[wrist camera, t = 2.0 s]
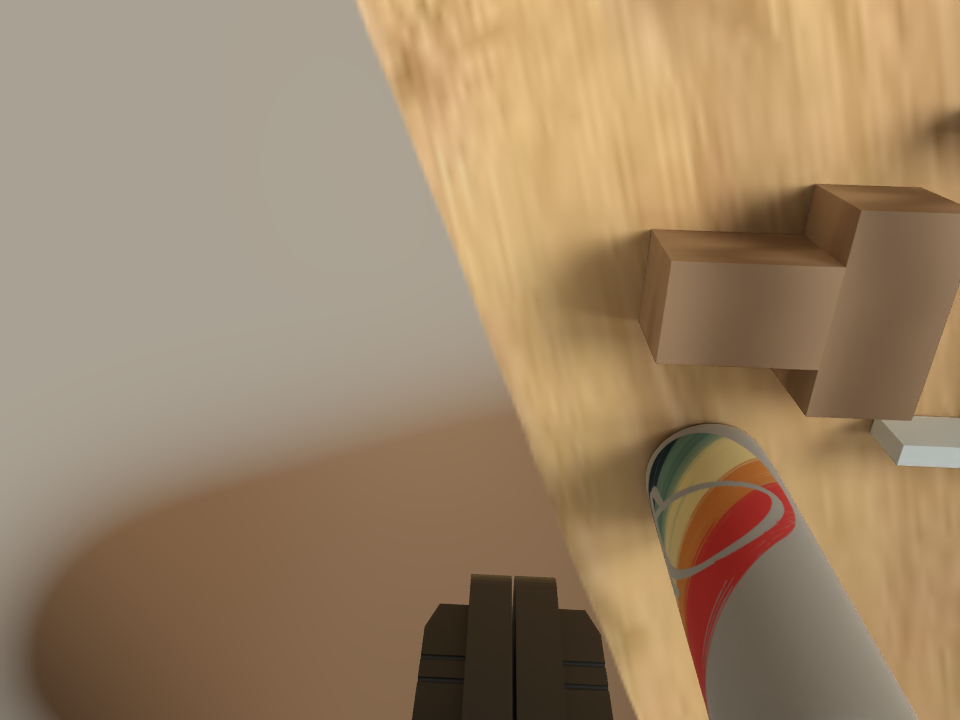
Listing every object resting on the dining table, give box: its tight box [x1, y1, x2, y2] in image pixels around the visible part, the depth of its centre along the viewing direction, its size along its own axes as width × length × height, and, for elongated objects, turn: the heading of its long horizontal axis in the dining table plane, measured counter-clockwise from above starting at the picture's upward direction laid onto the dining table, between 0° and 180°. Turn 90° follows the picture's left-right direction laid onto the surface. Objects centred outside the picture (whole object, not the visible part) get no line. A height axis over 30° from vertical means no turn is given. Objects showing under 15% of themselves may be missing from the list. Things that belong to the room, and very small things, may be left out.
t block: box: [639, 184, 960, 421], centre depth 27 cm, size 10×8×4 cm
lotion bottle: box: [646, 424, 919, 720], centre depth 24 cm, size 6×6×20 cm
